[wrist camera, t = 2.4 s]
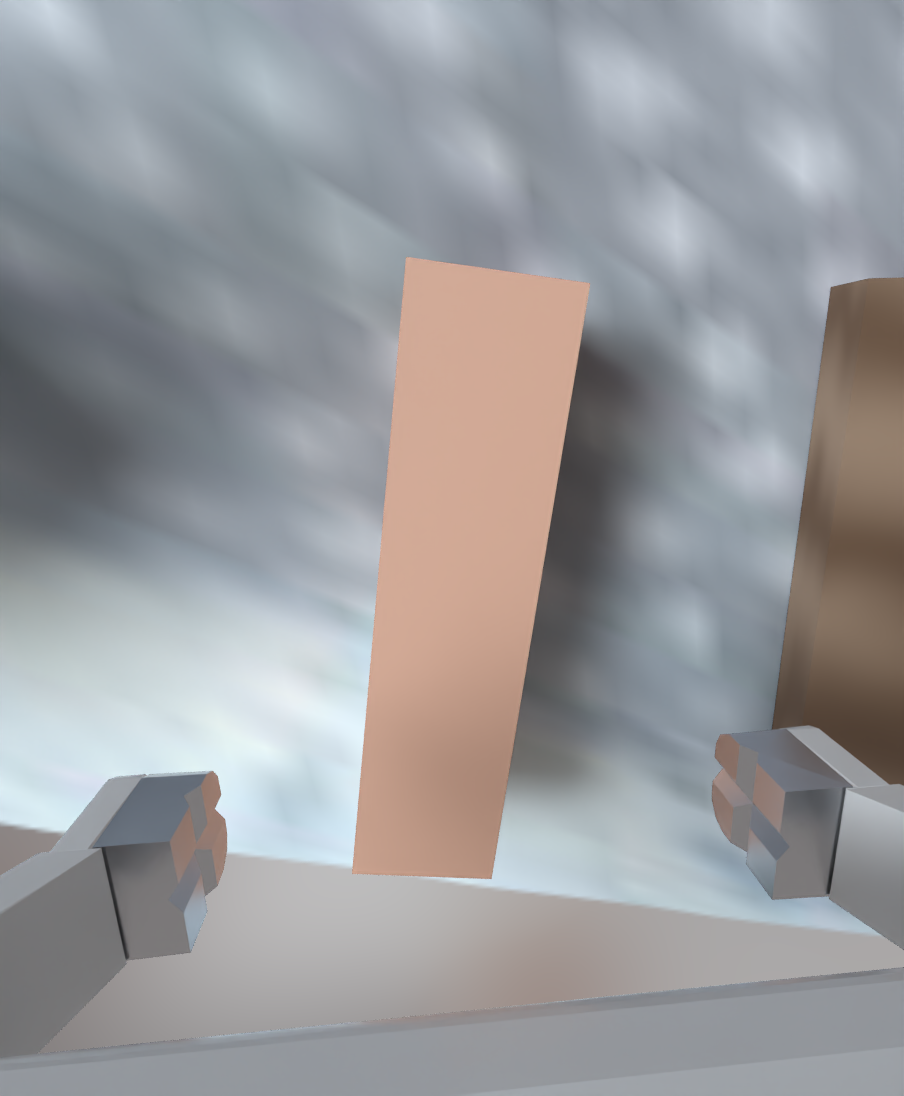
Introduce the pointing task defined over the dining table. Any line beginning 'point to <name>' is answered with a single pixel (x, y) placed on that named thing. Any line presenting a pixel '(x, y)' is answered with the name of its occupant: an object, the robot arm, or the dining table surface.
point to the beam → (461, 558)
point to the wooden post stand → (853, 539)
